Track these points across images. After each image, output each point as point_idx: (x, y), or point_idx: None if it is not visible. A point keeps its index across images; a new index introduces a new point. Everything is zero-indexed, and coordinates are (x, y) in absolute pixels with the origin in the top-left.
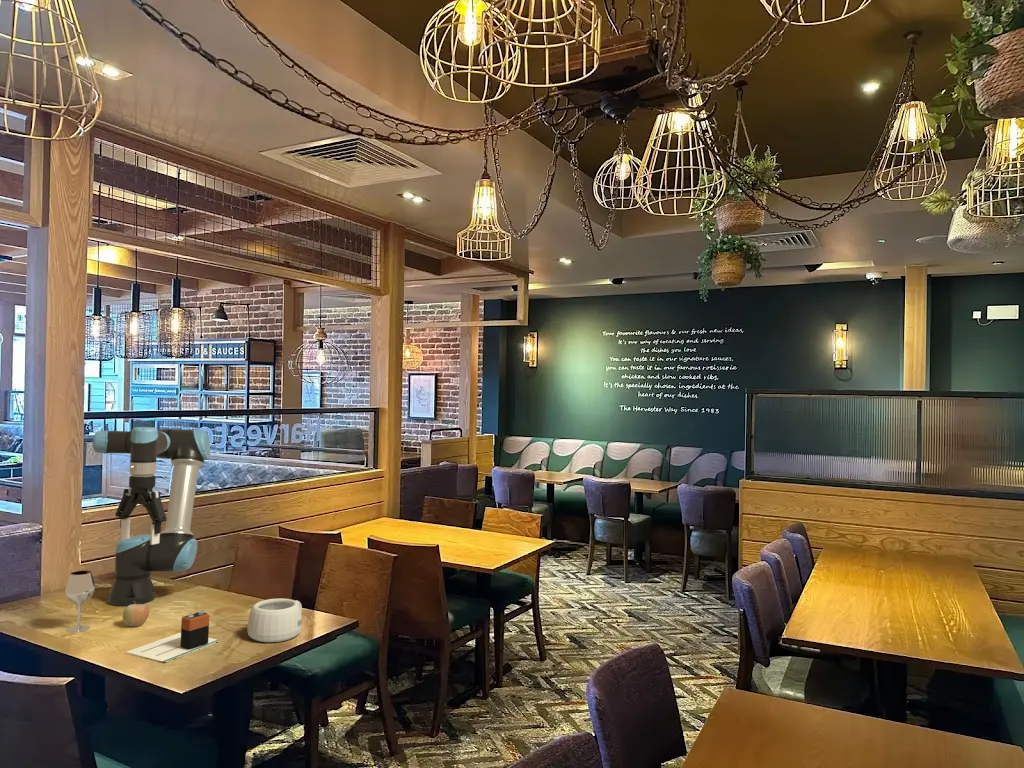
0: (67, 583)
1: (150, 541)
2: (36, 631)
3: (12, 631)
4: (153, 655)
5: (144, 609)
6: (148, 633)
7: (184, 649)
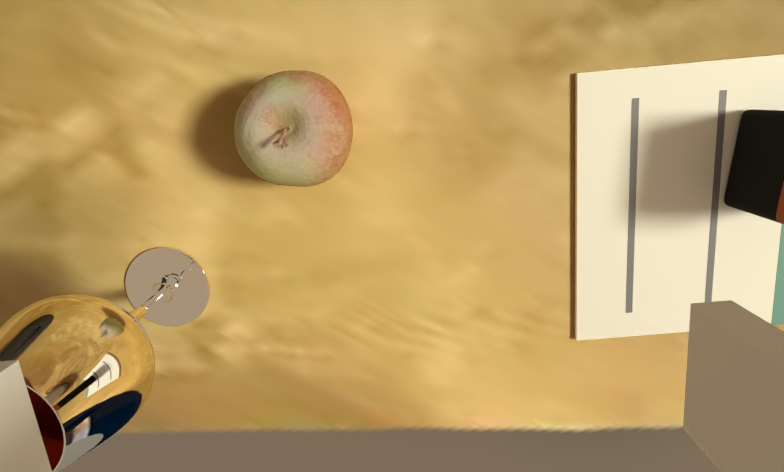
0: None
1: (716, 460)
2: None
3: None
4: None
5: (341, 118)
6: (451, 161)
7: None
